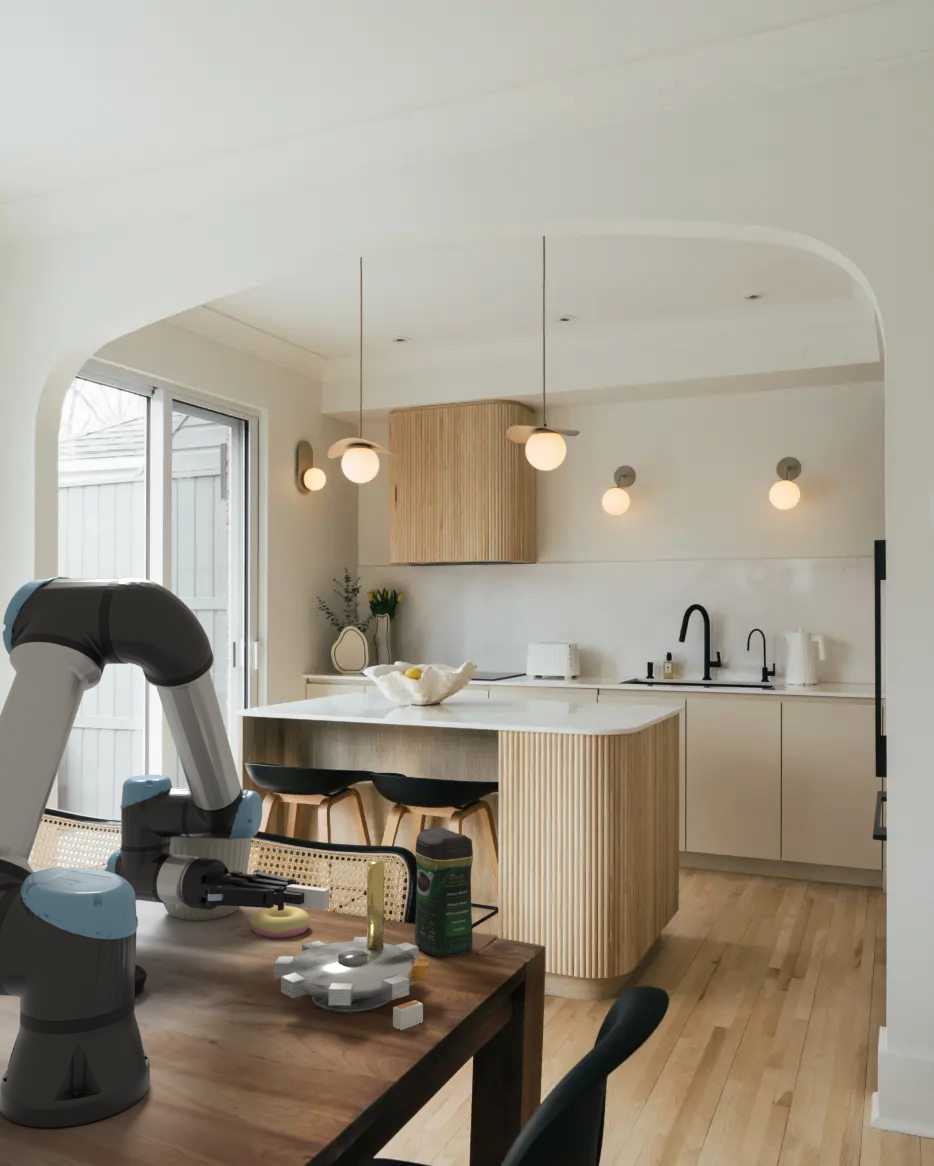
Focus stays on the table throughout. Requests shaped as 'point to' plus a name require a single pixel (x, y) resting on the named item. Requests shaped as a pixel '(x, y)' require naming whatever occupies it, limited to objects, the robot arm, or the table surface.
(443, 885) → the coffee jar
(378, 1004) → the disc
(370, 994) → the sprocket
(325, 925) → the table surface
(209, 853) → the canister
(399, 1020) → the pointer
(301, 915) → the donut
